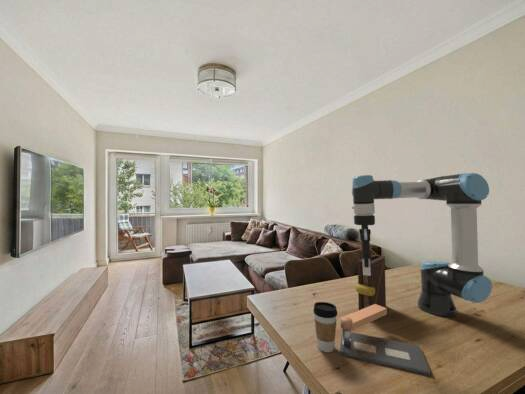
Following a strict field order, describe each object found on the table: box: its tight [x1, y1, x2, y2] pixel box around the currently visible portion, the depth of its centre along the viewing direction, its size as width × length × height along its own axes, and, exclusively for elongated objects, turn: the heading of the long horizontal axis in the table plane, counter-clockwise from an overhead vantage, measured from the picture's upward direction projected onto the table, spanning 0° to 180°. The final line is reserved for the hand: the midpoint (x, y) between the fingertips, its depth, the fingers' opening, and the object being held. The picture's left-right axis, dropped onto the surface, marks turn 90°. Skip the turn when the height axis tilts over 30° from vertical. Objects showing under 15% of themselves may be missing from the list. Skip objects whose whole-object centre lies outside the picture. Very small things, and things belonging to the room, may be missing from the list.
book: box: [355, 254, 387, 311], centre depth 112 cm, size 22×8×25 cm, turn 134°
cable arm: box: [339, 304, 388, 331], centre depth 89 cm, size 24×5×3 cm, turn 122°
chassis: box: [339, 328, 431, 377], centre depth 81 cm, size 26×14×7 cm, turn 67°
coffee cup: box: [313, 301, 338, 353], centre depth 84 cm, size 8×8×15 cm
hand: (366, 274), depth 91 cm, fingers closed
